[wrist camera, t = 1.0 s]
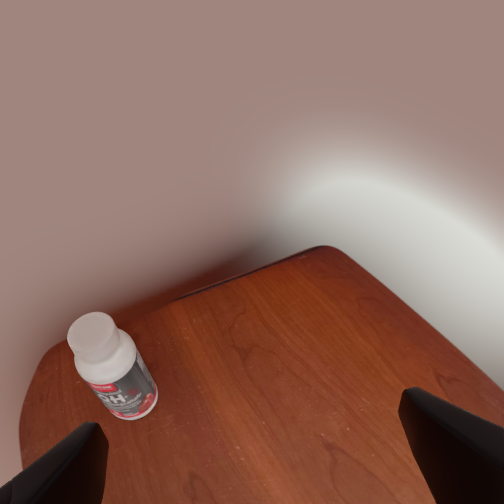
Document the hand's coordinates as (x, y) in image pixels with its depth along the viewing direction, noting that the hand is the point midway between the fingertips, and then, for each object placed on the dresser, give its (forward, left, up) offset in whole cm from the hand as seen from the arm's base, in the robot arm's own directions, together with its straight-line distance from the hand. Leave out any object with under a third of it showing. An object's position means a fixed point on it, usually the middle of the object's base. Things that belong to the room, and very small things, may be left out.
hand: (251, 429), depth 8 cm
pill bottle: (+8, +13, -17) cm, 23 cm away
